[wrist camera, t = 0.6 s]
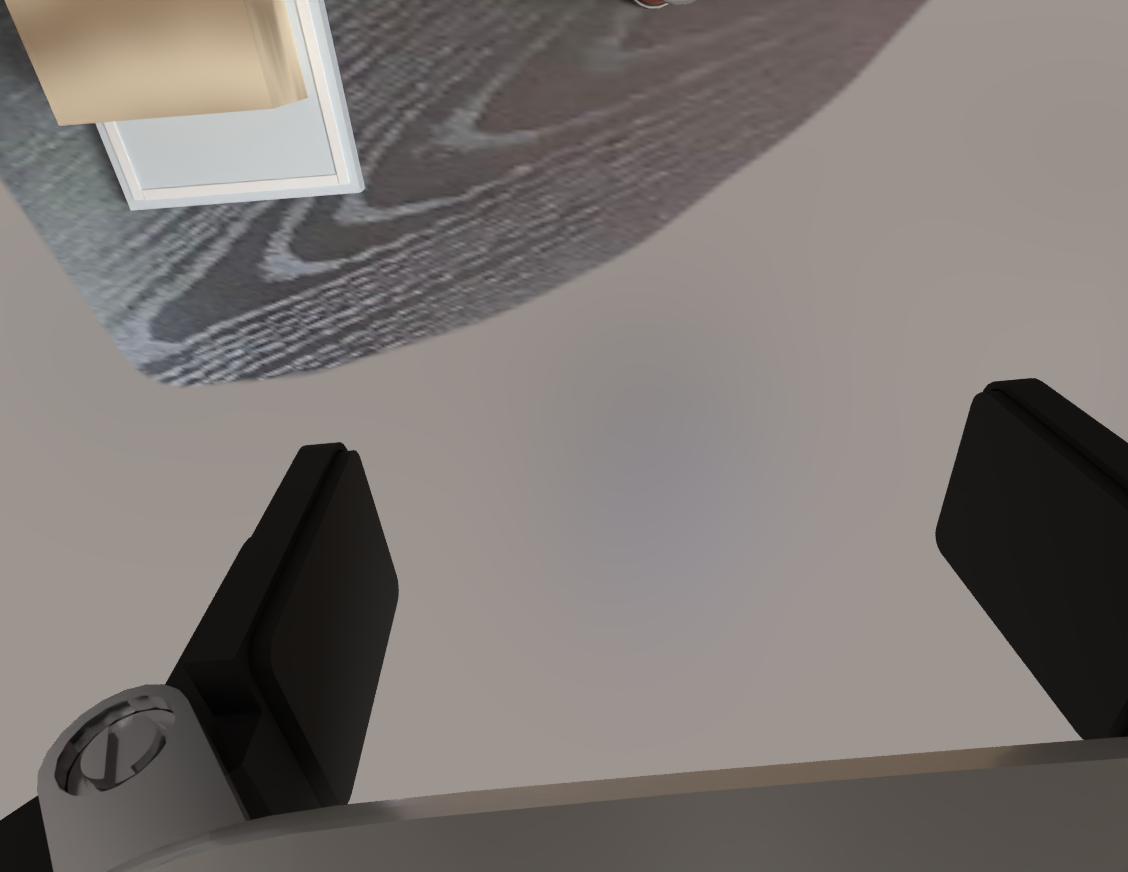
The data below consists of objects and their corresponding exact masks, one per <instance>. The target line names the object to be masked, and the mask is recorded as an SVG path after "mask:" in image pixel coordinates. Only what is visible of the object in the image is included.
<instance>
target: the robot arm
mask: <svg viewBox="0 0 1128 872" xmlns="http://www.w3.org/2000/svg"><path fill="white" fill-rule="evenodd" d="M935 533H936V542H937V545H938V548H939V550H940V552H941V554H942V555H943V556H944V557H945V559H946V560H947V562H948V563H949V564H950V565H951V567H952V568H953V570H954V571H955V572H956V573H957V575H958V576H959V577H960V579H961V580H962V581H963V583H964V584H965V585H966V587H967V588H968V589H969V591H970V592H971V593H972V595H973V596H974V597H975V599H976V600H977V601H978V603H979V604H980V605H981V607H982V608H983V609H984V610H985V611H986V613H987V615H988V616H989V617H990V618H991V620H992V621H993V622H994V624H995V625H996V626H997V628H998V629H999V630H1000V631H1001V633H1002V634H1003V636H1004V637H1005V638H1006V640H1007V641H1008V642H1009V644H1010V645H1011V646H1012V648H1013V649H1014V650H1015V651H1016V653H1017V654H1018V656H1019V657H1020V658H1021V659H1022V661H1023V662H1024V663H1025V664H1026V666H1027V667H1028V669H1029V670H1030V671H1031V672H1032V674H1033V675H1034V677H1035V678H1036V679H1037V680H1038V682H1039V683H1040V685H1041V686H1042V687H1043V689H1044V690H1045V691H1046V692H1047V694H1048V695H1049V697H1050V698H1051V699H1052V701H1053V702H1054V703H1055V704H1056V706H1057V707H1058V708H1059V710H1060V711H1061V712H1062V714H1063V715H1064V716H1065V718H1066V719H1067V720H1068V722H1069V723H1070V724H1071V725H1072V727H1073V728H1074V730H1075V731H1076V732H1077V733H1078V734H1079V736H1080V737H1081V738H1082V739H1084V740H1079V741H1066V742H1053V743H1040V744H1027V745H1014V746H1001V747H990V748H989V747H988V748H975V749H963V750H950V751H938V752H925V753H913V754H901V755H889V756H877V757H865V758H853V759H840V760H828V761H816V762H804V763H792V764H780V765H768V766H756V767H744V768H732V769H720V770H708V771H697V772H684V773H674V774H663V775H651V776H640V777H628V778H616V779H605V780H595V781H583V782H571V783H560V784H549V785H538V786H526V787H515V788H504V789H492V790H481V791H471V792H461V793H451V794H443V795H432V796H423V797H414V798H404V799H395V800H385V801H375V802H367V803H357V804H348V802H349V800H350V797H351V794H352V790H353V785H354V781H355V777H356V773H357V769H358V765H359V760H360V756H361V752H362V748H363V744H364V739H365V735H366V731H367V727H368V723H369V719H370V715H371V710H372V706H373V702H374V698H375V694H376V689H377V685H378V681H379V676H380V673H381V669H382V664H383V660H384V656H385V652H386V647H387V643H388V639H389V635H390V631H391V627H392V623H393V619H394V614H395V610H396V606H397V602H398V592H399V589H398V579H397V575H396V572H395V569H394V565H393V562H392V559H391V556H390V552H389V549H388V546H387V543H386V539H385V536H384V533H383V530H382V527H381V523H380V520H379V517H378V514H377V510H376V507H375V504H374V500H373V497H372V494H371V491H370V488H369V484H368V481H367V478H366V475H365V471H364V468H363V465H362V462H361V459H360V456H359V454H358V453H357V451H355V450H353V451H347V449H346V447H345V446H344V444H342V443H341V442H337V443H327V444H316V445H305V446H302V447H301V448H300V450H299V451H298V453H297V455H296V457H295V458H294V460H293V462H292V464H291V466H290V468H289V469H288V471H287V473H286V475H285V477H284V478H283V480H282V482H281V484H280V486H279V488H278V489H277V491H276V493H275V495H274V496H273V499H272V500H271V502H270V504H269V506H268V507H267V509H266V511H265V513H264V515H263V516H262V518H261V520H260V522H259V524H258V525H257V527H256V529H255V531H254V533H253V534H252V536H251V537H250V538H248V540H247V541H246V542H245V543H244V545H243V546H242V548H241V550H240V551H239V553H238V555H237V557H236V559H235V560H234V562H233V564H232V566H231V568H230V570H229V571H228V573H227V575H226V577H225V578H224V580H223V582H222V584H221V585H220V587H219V589H218V591H217V593H216V594H215V596H214V598H213V600H212V602H211V603H210V605H209V607H208V609H207V611H206V613H205V614H204V616H203V618H202V619H201V621H200V623H199V625H198V627H197V628H196V630H195V632H194V634H193V636H192V637H191V639H190V641H189V643H188V644H187V646H186V648H185V650H184V652H183V654H182V655H181V657H180V659H179V661H178V663H177V664H176V666H175V668H174V670H173V671H172V673H171V675H170V677H169V679H168V680H167V682H166V684H165V685H162V684H160V685H143V686H139V687H135V688H131V689H127V690H124V691H122V692H120V693H118V694H115V695H113V696H111V697H109V698H107V699H105V700H103V701H101V702H100V703H98V704H97V705H95V706H94V707H93V708H91V709H89V710H88V711H86V712H85V713H83V714H82V715H80V716H79V717H78V718H77V719H76V720H75V721H74V722H73V723H72V724H71V725H70V726H69V727H68V728H66V729H65V730H64V731H63V732H62V733H61V734H60V736H59V737H58V739H57V740H56V741H55V742H54V744H53V745H52V747H51V748H50V749H49V750H48V752H47V754H46V756H45V758H44V760H43V763H42V765H41V767H40V769H39V772H38V786H37V792H38V796H36V797H35V798H33V799H32V800H30V801H29V802H27V803H26V804H24V805H23V806H21V807H20V808H18V809H17V810H15V811H14V812H12V813H11V814H9V815H8V816H6V817H5V818H3V819H2V820H0V872H1128V443H1127V442H1126V441H1124V440H1123V439H1122V438H1120V437H1119V436H1117V435H1116V434H1114V433H1113V432H1112V431H1110V430H1109V429H1108V428H1106V427H1105V426H1103V425H1102V424H1101V423H1099V422H1098V421H1096V420H1095V419H1093V418H1092V417H1091V416H1089V415H1088V414H1087V413H1085V412H1084V411H1083V410H1081V409H1080V408H1078V407H1077V406H1076V405H1074V404H1073V403H1071V402H1070V401H1069V400H1067V399H1066V398H1064V397H1063V396H1062V395H1060V394H1059V393H1057V392H1056V391H1055V390H1053V389H1052V388H1050V387H1049V386H1048V385H1046V384H1045V383H1043V382H1042V381H1040V380H1038V379H1036V378H1028V379H1017V380H1006V381H996V382H992V383H990V384H988V385H987V386H986V388H985V389H984V390H983V392H981V393H979V394H977V395H976V396H975V397H974V399H973V401H972V404H971V407H970V411H969V414H968V418H967V421H966V425H965V428H964V432H963V435H962V439H961V442H960V446H959V449H958V453H957V457H956V460H955V463H954V467H953V471H952V474H951V478H950V481H949V485H948V488H947V491H946V495H945V499H944V502H943V506H942V509H941V513H940V516H939V520H938V523H937V527H936V532H935Z"/></svg>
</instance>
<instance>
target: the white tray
mask: <svg viewBox="0 0 1128 872" xmlns="http://www.w3.org/2000/svg"><path fill="white" fill-rule="evenodd" d="M284 2H285V6H286V10H287V14H288V18H289V22H290V26H291V30H292V34H293V38H294V42H295V46H296V50H297V55H298V59H299V63H300V67H301V71H302V75H303V79H304V83H305V87H306V91H307V95H308V98H305V99H302V100H299V101H296V102H293V103H290V104H286V105H283V106H280V107H277V108H274V109H264V110H251V111H239V112H226V113H213V114H201V115H188V116H176V117H163V118H150V119H138V120H125V121H113V122H100V123H96V126H97V128H98V131H99V133H100V136H101V138H102V141H103V143H104V146H105V148H106V151H107V153H108V155H109V158H110V160H111V163H112V165H113V168H114V170H115V173H116V175H117V178H118V180H119V183H120V185H121V187H122V190H123V192H124V195H125V197H126V200H127V202H128V205H129V207H130V210H144V209H156V208H169V207H182V206H194V205H207V204H220V203H233V202H245V201H258V200H271V199H284V198H296V197H309V196H322V195H334V194H347V193H360V192H362V191H363V190H364V189H365V186H364V182H363V177H362V173H361V168H360V163H359V159H358V154H357V150H356V145H355V141H354V136H353V131H352V127H351V122H350V118H349V113H348V109H347V104H346V99H345V95H344V90H343V86H342V81H341V77H340V72H339V67H338V63H337V58H336V54H335V49H334V45H333V40H332V35H331V31H330V26H329V22H328V17H327V13H326V8H325V3H324V0H284Z"/></svg>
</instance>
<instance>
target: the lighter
mask: <svg viewBox="0 0 1128 872" xmlns="http://www.w3.org/2000/svg"><path fill="white" fill-rule="evenodd" d="M632 1H633V2H634V3H635V4H637V5H638V6H640V7H643V8H646V9H652V8H660V7H663V6H665V5H668V4H670V5H681V4H688V3H690V2H693V1H695V0H632Z"/></svg>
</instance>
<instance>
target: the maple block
mask: <svg viewBox="0 0 1128 872" xmlns="http://www.w3.org/2000/svg"><path fill="white" fill-rule="evenodd" d="M5 3H6V5H7V7H8V10H9V12H10V14H11V16H12V19H13V21H14V23H15V26H16V28H17V30H18V33H19V35H20V37H21V40H22V42H23V44H24V46H25V49H26V51H27V53H28V56H29V58H30V60H31V63H32V65H33V67H34V69H35V72H36V74H37V76H38V79H39V81H40V83H41V86H42V88H43V90H44V92H45V95H46V97H47V99H48V102H49V104H50V106H51V109H52V111H53V113H54V116H55V118H56V120H57V122H58V125H59V126H62V125H75V124H88V123H100V122H113V121H125V120H138V119H150V118H163V117H176V116H188V115H201V114H213V113H226V112H239V111H251V110H264V109H274V108H277V107H280V106H283V105H286V104H290V103H293V102H296V101H299V100H302V99H305V98H308V95H307V91H306V87H305V83H304V79H303V75H302V71H301V67H300V63H299V59H298V55H297V50H296V46H295V42H294V38H293V34H292V30H291V26H290V22H289V18H288V14H287V10H286V6H285V2H284V0H5Z"/></svg>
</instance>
